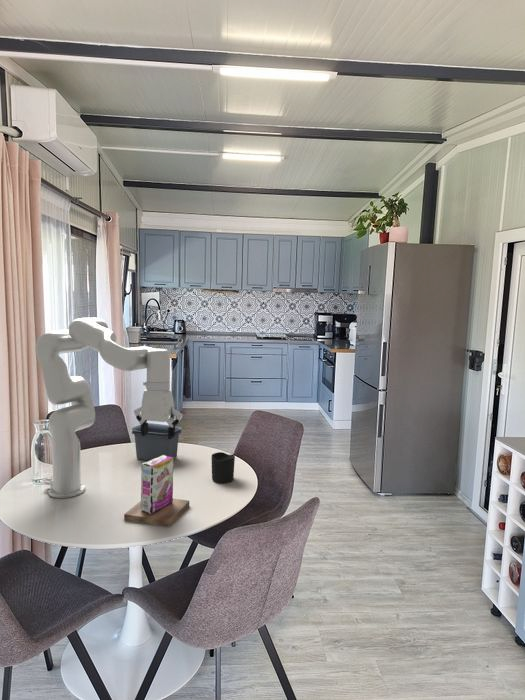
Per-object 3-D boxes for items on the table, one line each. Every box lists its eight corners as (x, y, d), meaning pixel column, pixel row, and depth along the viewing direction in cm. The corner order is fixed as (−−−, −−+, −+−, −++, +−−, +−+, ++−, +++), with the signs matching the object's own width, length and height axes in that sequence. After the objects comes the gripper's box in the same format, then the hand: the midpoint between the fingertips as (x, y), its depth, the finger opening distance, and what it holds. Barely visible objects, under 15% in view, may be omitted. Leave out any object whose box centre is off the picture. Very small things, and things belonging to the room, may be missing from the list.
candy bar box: (152, 515, 151) (152, 466, 149) (140, 511, 153) (140, 463, 151) (173, 502, 161) (174, 456, 159) (162, 499, 163) (162, 454, 161)
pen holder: (229, 474, 194) (230, 451, 193) (237, 482, 186) (238, 458, 185) (208, 477, 191) (208, 453, 190) (215, 485, 182) (215, 460, 181)
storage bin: (127, 459, 209) (127, 428, 208) (147, 450, 223) (147, 420, 222) (168, 466, 202) (169, 434, 200) (186, 455, 216) (186, 425, 215)
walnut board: (124, 520, 151) (124, 514, 151) (147, 500, 167) (147, 495, 166) (169, 526, 147) (169, 520, 147) (189, 506, 163) (189, 500, 163)
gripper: (128, 386, 152) (128, 437, 153) (177, 390, 147) (176, 442, 149) (140, 382, 159) (140, 431, 161) (187, 386, 155) (186, 436, 156)
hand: (157, 436), depth 155 cm, fingers open, 9 cm apart
